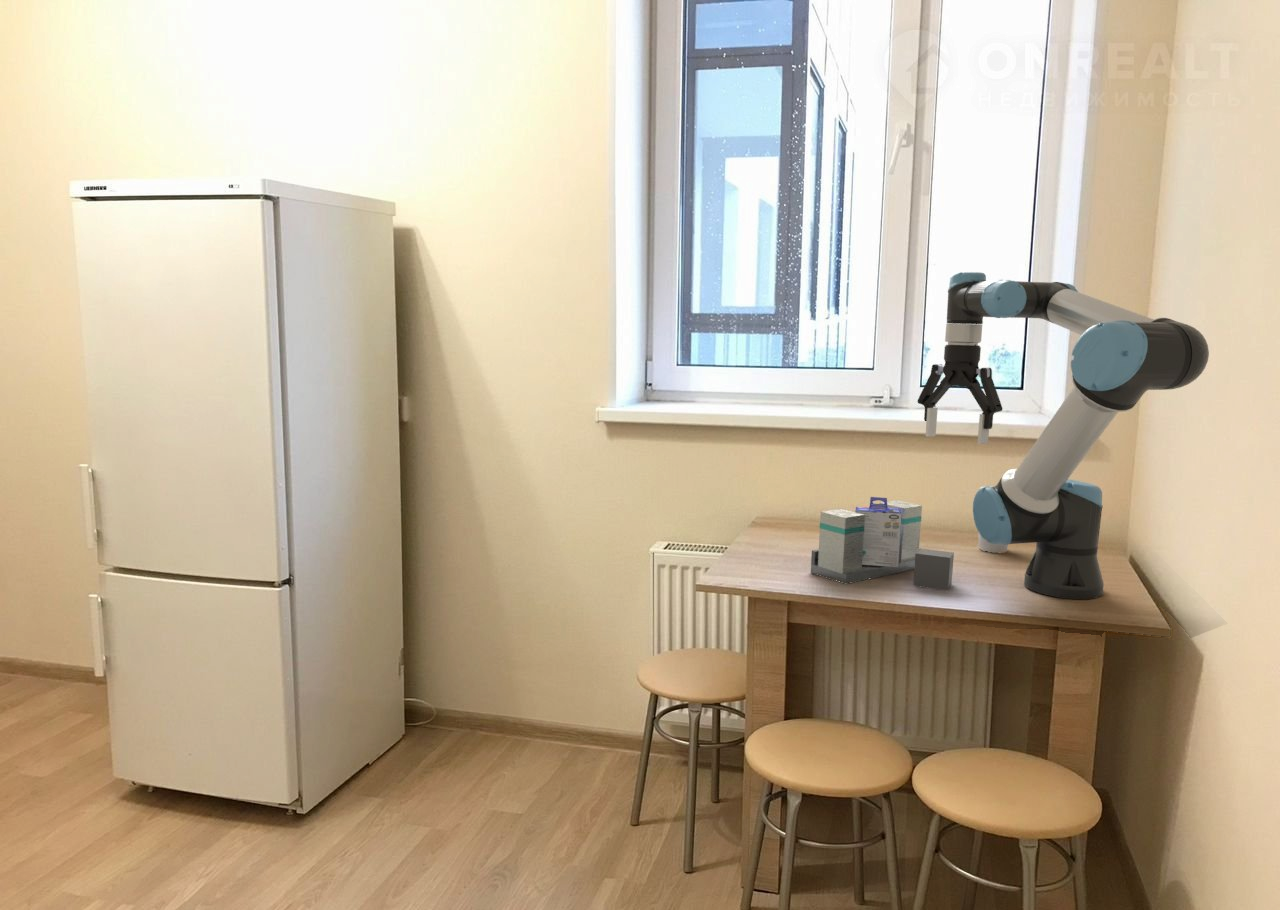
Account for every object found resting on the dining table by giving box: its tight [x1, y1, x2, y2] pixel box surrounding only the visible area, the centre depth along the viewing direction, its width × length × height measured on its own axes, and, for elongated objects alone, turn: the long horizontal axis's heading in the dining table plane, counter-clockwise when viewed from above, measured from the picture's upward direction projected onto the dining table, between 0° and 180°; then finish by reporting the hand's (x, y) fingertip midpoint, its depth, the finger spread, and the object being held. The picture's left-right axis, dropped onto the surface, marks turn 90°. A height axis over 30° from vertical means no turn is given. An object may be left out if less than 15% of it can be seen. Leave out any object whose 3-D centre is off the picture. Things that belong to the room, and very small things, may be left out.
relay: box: [912, 547, 955, 591], centre depth 199 cm, size 5×7×7 cm
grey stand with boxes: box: [810, 499, 923, 584], centre depth 209 cm, size 10×25×14 cm, turn 126°
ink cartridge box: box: [854, 496, 902, 567], centre depth 207 cm, size 10×6×14 cm, turn 79°
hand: (955, 440), depth 211 cm, fingers open, 13 cm apart
